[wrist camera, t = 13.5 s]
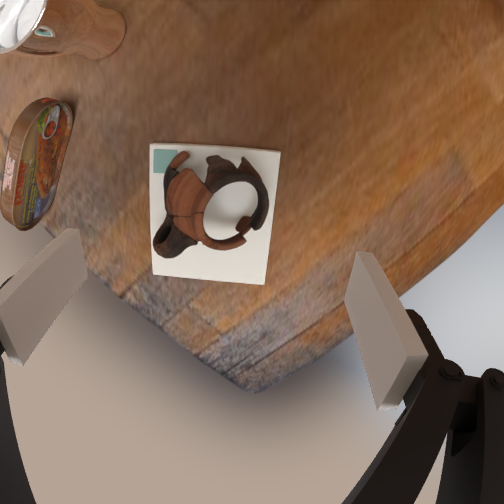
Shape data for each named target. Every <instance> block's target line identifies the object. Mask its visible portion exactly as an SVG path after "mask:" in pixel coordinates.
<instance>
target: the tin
mask: <svg viewBox="0 0 504 504" xmlns="http://www.w3.org/2000/svg"><path fill="white" fill-rule="evenodd" d="M72 123H73V115H72V111H71V108H70V107H69V105H68V104H67V103H65V102H62V101H57V100H55V99H51V98H42V99H39V100H36V101H34V102H32V103H31V104H29V105H28V106H27V107H26V108H25V109H24V110H23V111H22V113H21V114H20V115H19V117H18V118H17V120H16V122H15V124H14V126H13V128H12V131H11V134H10V137H9V142H8V147H7V153H6V158H5V165H4V172H3V179H2V187H1V197H0V209H1V213H2V215H3V217H4V218H5V219H6V220H7V221H8V222H9V223H11V224H12V225H14V226H15V227H16V228H17V229H18V230H20V231H27V230H29V229H31V228H33V227H34V226H35V225H36V224H37V223H38V222H39V221H40V220H41V219H42V218H43V216H44V215H45V213H46V212H47V210H48V209H49V207H50V205H51V203H52V201H53V198H54V196H55V192H56V189H57V185H58V180H59V176H60V171H61V167H62V163H63V159H64V155H65V152H66V148H67V144H68V141H69V137H70V134H71V130H72Z"/></svg>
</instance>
